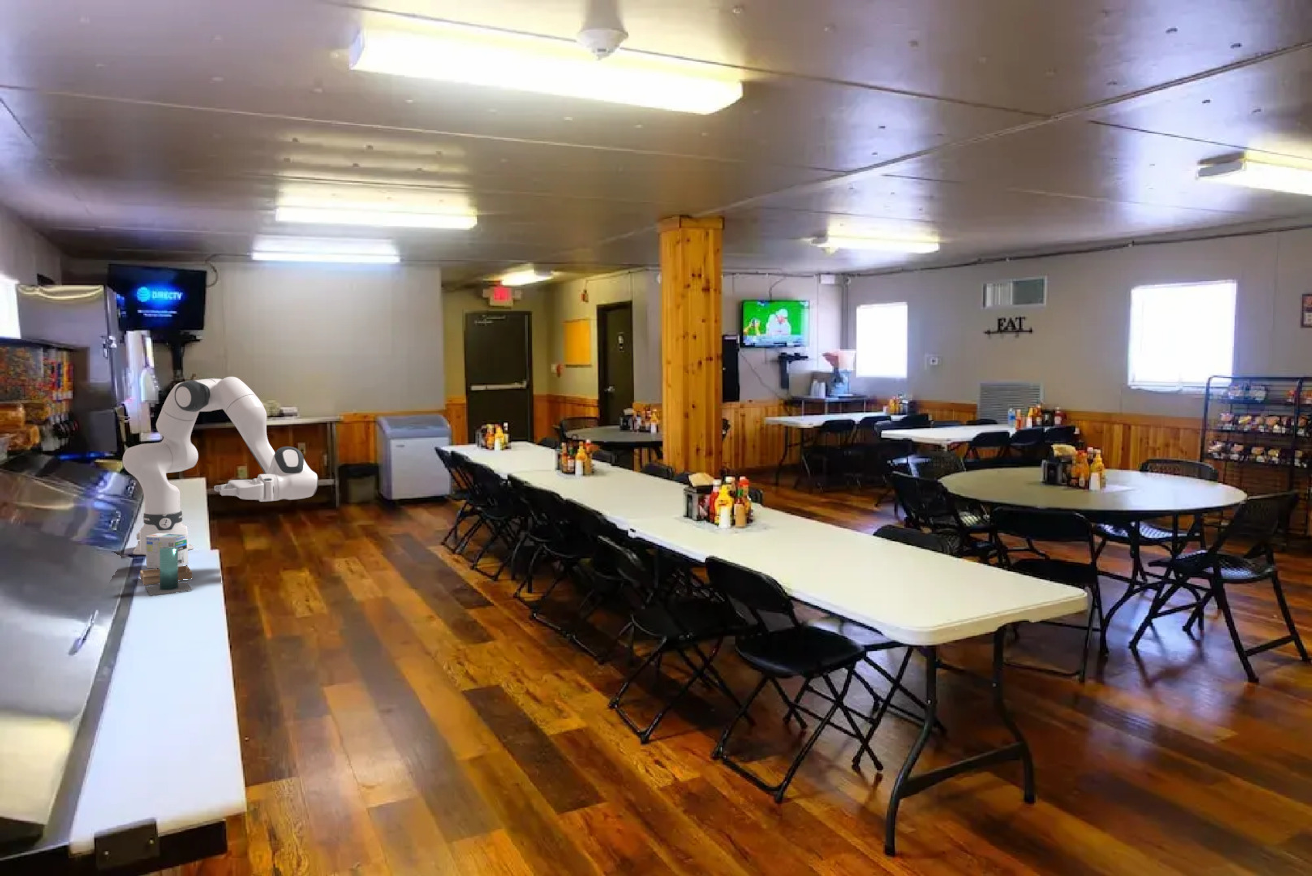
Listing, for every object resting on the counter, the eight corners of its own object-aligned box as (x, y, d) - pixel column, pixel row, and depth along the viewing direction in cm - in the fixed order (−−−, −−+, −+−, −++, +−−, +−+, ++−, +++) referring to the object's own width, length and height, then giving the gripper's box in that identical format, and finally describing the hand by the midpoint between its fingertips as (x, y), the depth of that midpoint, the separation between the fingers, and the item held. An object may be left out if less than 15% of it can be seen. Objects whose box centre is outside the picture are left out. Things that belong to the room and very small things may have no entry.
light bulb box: (189, 565, 287) (188, 533, 286) (176, 569, 280) (175, 537, 279) (159, 563, 288) (158, 532, 287) (145, 568, 281) (144, 535, 281)
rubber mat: (145, 587, 258) (145, 586, 258) (186, 582, 264) (186, 581, 264) (149, 595, 249) (149, 594, 249) (192, 590, 255) (192, 589, 255)
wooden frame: (140, 578, 268) (140, 570, 268) (187, 573, 276) (187, 565, 276) (144, 585, 260) (143, 577, 260) (192, 579, 268) (192, 571, 268)
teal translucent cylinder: (158, 586, 257) (158, 547, 256) (176, 584, 260) (176, 545, 259) (161, 590, 253) (160, 550, 252) (179, 588, 256) (179, 549, 255)
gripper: (257, 474, 284) (211, 476, 276) (272, 481, 268) (223, 484, 259) (258, 493, 284) (211, 496, 276) (272, 501, 268) (223, 505, 260)
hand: (217, 490), depth 268 cm, fingers open, 8 cm apart
